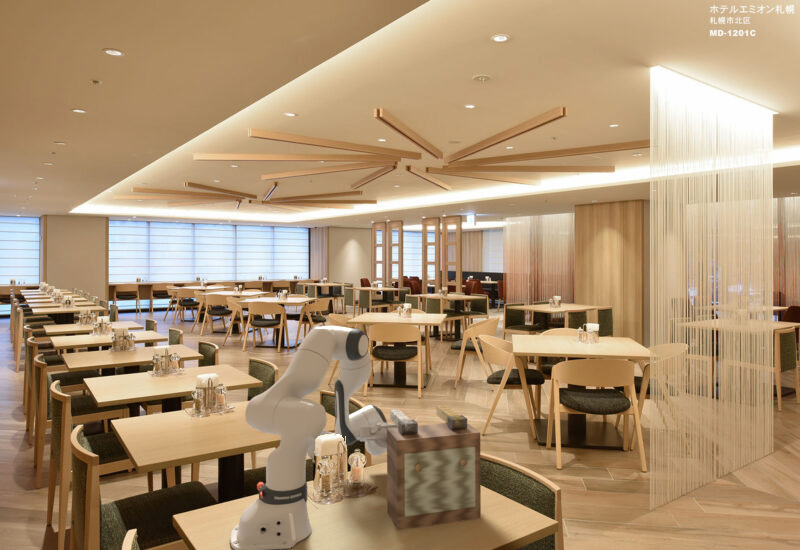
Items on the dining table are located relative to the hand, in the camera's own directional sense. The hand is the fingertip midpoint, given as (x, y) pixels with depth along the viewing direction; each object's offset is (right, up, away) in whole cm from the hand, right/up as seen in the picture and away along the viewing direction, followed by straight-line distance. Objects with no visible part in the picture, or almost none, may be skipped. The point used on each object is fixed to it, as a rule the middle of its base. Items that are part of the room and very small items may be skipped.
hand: (392, 425), depth 177 cm
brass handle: (+19, +3, -6) cm, 20 cm away
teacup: (-31, -23, +32) cm, 50 cm away
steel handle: (+3, +3, -11) cm, 11 cm away
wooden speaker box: (+13, -23, -14) cm, 30 cm away
